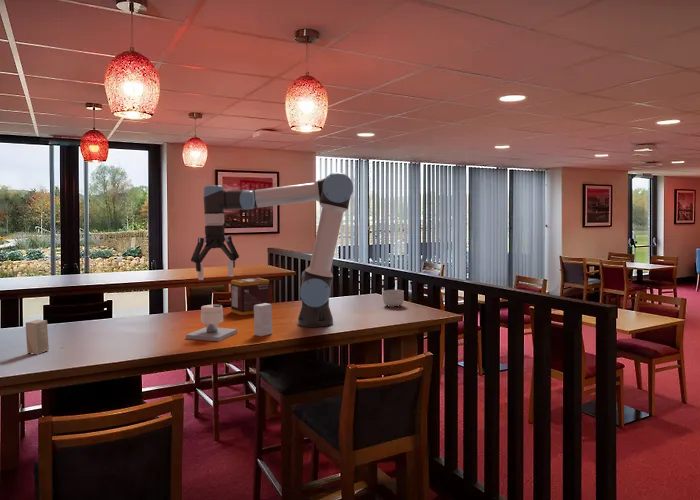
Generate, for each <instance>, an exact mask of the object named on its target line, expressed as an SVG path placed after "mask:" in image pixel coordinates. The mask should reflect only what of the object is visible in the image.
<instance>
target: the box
mask: <svg viewBox="0 0 700 500" xmlns="http://www.w3.org/2000/svg"><path fill="white" fill-rule="evenodd" d="M48 332H49V331H48V320H47V319H45V320H44V319H34V320H32V321H31V320H30V321H27V322H25V334H26V335H25V336H26V350H27V354H28V353H33V354H38V353H42V352H45V351H47V352H49V351H50V347H49V346H50V345H49V333H48ZM48 350H49V351H48ZM45 353H46V352H45ZM42 354H43V353H42Z"/></svg>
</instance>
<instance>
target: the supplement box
mask: <svg viewBox="0 0 700 500" xmlns="http://www.w3.org/2000/svg"><path fill="white" fill-rule="evenodd" d="M230 301H231V303H230V306H231V307H230V309H231V310H230V311H231V313H233V314H237V315H238V316H239V315H240V316H246V315H247V316H248V315H254V305H257V304H263V303H268V304H270V279H265V278H261V277H252V278H243V279H242V278H241V279H232V280H230Z"/></svg>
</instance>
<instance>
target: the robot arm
mask: <svg viewBox="0 0 700 500" xmlns="http://www.w3.org/2000/svg"><path fill="white" fill-rule="evenodd" d="M353 192H354V184H353V181H352V179H351V178H350V177H349V175H347V174H345V173H344V172H343V173H342V172H338V171H337V172H332V173H329V174H328V175H327V176H326V177H325V178H321V179H316V180H315V181H314V182H310V183H308V182H307V183H300V184H293V185H291V184H290V185H285V186H277V187H275V186H274V187H268V188H262V189H261V188H260V189H255V190H254V189H252V190H249V189H242V190H240V189H239V190H238V189H237V190H234V189H233V190H224V187H223V185H216V184H215V185H210V184H209V185H205V186H204V187H203V209H204V210H203V211H204V213H203V214H204V224H205V226H204V235H205V237H198V238H197V244H196V246H195V249H194V251H193V254H192V256H191V259H190V261H191V262H192V263H194V264H195V271H196V272H197V276H198V277H197V279H198V281H204V278H205V277H204V263H202V262H203V260H204V259H205V258H206V255H208V253H209V252H210V251H211V249H221V251H223V253H224V254H225V255H226V256H227V258H228V260H227V266H228V267H227V268H228V269H227V271H228V273H227V274H228V275H227V276H228V277H235V275H234V274H235V272H234V268H236V262H235V261H237V259H239V258H240V255H239V254H238V252H237V249H236V247H235V245H234V243H233V239H232V236H229V235H227V236H225V234H226V233H225V231H226V230H225V225H224V224H225V211H224V210H252V209H257V208H265V207H274V206H280V205H282V206H283V205H290V204H296V203H297V204H298V203H307V202H313V201H315V202H316V201H317V203H318V204H319V206H320V208H321V212H320V218H319V222H318V226H317V231H316V236H315V240H314V245H313V249H312V253H311V259H310V263H309V266H308V267H307V268H306V269H304V270H303V271H302V272H301V277H300V278H301V279H300V280H301V286H300V289H299V296H300V298H301V307H300V311H299V314H298V318H297V324H298V326H300V325H301V327H305V326H309V327H308V328H319V327H318V326H325V327H329V326H332V325H333V324H334V319H333V314H332V312H331V308H330V296H331V288H332V282H333V279H334V275H333V273H332V271H331V269H332V265H333V260H334V257H335V251H336V248H337V247H336V246H337V243H338V238H339V233H340V228H341V224H342V219H343V215H344V213H346V212H347V211H348V209H349V206H350V200H351V197H352V194H353ZM225 242H226V244H225ZM205 243H206V244H205ZM204 244H205V245H204ZM331 324H332V325H331ZM328 325H329V326H328Z"/></svg>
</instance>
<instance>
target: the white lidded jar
mask: <svg viewBox="0 0 700 500" xmlns="http://www.w3.org/2000/svg"><path fill="white" fill-rule="evenodd" d="M200 309H201V311H200V323H201V324H202V325H206V324H217V323H218V324H221V323H223V322H224V311H223V305H221V304H207V305H202V306H201V307H200Z"/></svg>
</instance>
